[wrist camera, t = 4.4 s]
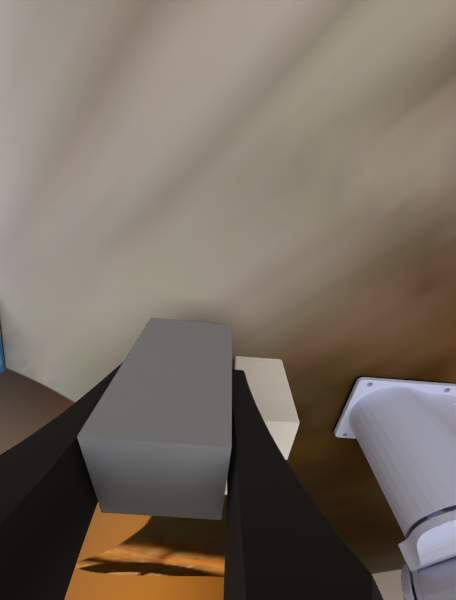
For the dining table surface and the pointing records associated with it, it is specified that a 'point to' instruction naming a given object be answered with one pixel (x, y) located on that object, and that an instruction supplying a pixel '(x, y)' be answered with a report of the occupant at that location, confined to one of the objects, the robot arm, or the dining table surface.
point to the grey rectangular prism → (165, 424)
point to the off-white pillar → (272, 398)
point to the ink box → (1, 356)
